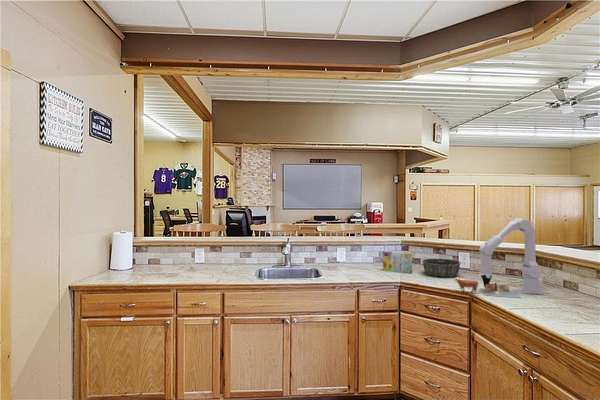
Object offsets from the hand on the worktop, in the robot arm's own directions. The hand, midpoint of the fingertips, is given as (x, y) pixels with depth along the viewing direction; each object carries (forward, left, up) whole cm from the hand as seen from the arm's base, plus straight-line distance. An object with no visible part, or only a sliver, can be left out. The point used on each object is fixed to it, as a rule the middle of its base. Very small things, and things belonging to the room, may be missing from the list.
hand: (486, 287), depth 216 cm
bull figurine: (+12, +4, -3) cm, 13 cm away
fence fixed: (-9, -2, -2) cm, 10 cm away
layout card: (-7, +2, -2) cm, 8 cm away
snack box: (+54, -47, -3) cm, 71 cm away
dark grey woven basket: (+23, -44, -3) cm, 49 cm away
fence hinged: (-2, +1, -2) cm, 3 cm away
